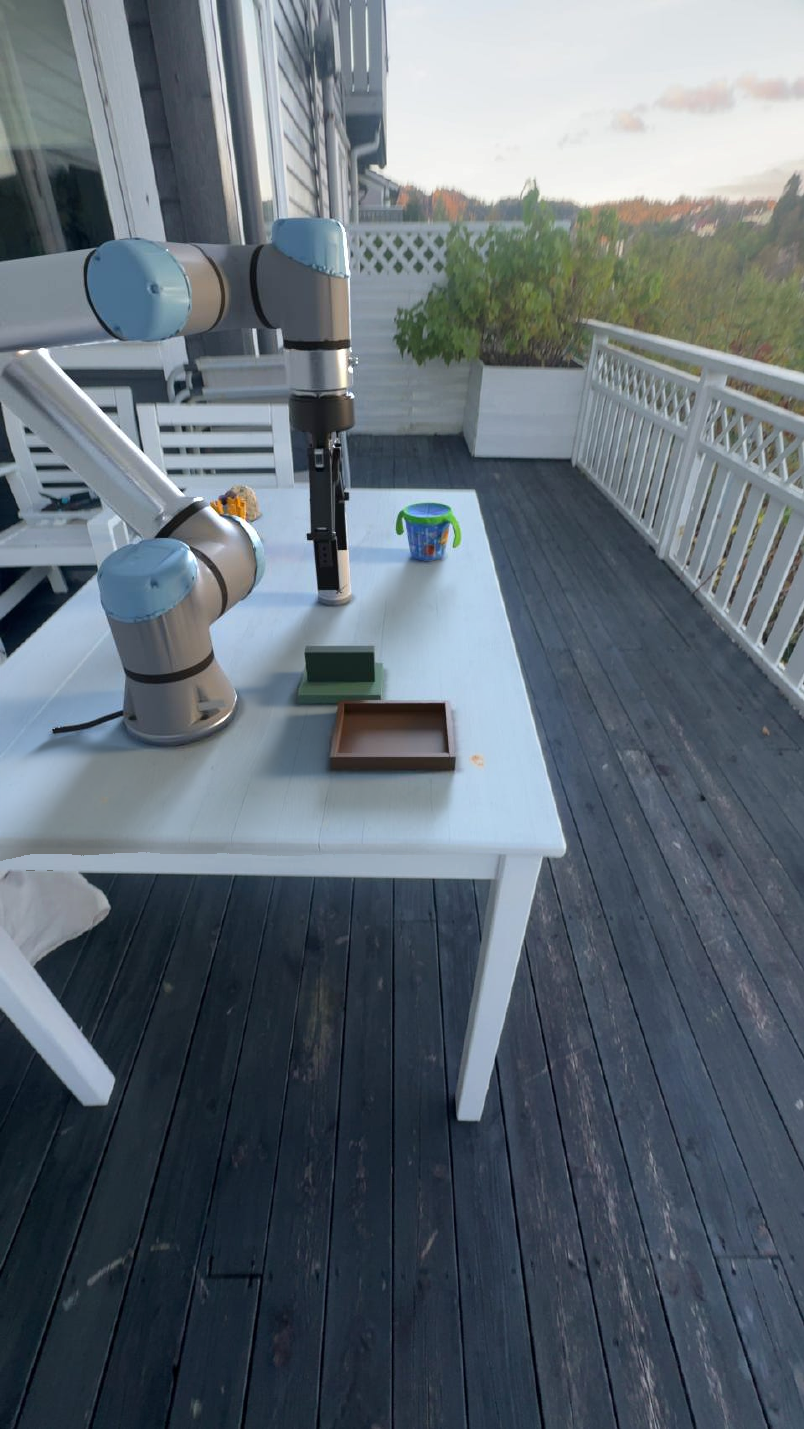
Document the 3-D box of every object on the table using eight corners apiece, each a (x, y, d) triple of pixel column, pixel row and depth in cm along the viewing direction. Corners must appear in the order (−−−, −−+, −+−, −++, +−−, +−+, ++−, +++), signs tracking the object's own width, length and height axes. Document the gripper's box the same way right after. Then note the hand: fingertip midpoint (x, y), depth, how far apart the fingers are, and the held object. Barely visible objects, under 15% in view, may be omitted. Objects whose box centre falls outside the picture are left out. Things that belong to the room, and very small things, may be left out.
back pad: (298, 703, 90) (293, 665, 87) (306, 671, 98) (302, 634, 94) (381, 703, 90) (379, 664, 87) (383, 671, 98) (382, 634, 94)
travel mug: (348, 607, 116) (340, 498, 105) (314, 604, 117) (303, 496, 106) (356, 593, 121) (350, 488, 110) (324, 591, 122) (314, 486, 111)
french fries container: (255, 559, 136) (245, 494, 128) (256, 575, 129) (246, 507, 121) (221, 562, 135) (209, 496, 127) (221, 579, 128) (208, 510, 120)
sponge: (261, 533, 162) (272, 495, 161) (236, 520, 153) (248, 480, 152) (235, 527, 166) (246, 490, 165) (209, 514, 157) (220, 475, 156)
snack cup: (384, 554, 138) (383, 507, 132) (416, 541, 145) (416, 496, 139) (439, 572, 130) (440, 523, 124) (470, 557, 136) (472, 510, 130)
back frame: (330, 770, 78) (329, 757, 77) (339, 712, 89) (338, 700, 87) (455, 770, 78) (455, 756, 77) (449, 712, 88) (450, 699, 87)
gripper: (346, 410, 61) (356, 608, 73) (359, 375, 81) (365, 535, 94) (269, 411, 61) (292, 609, 73) (301, 376, 81) (315, 535, 94)
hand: (333, 568), depth 84 cm, fingers open, 13 cm apart
